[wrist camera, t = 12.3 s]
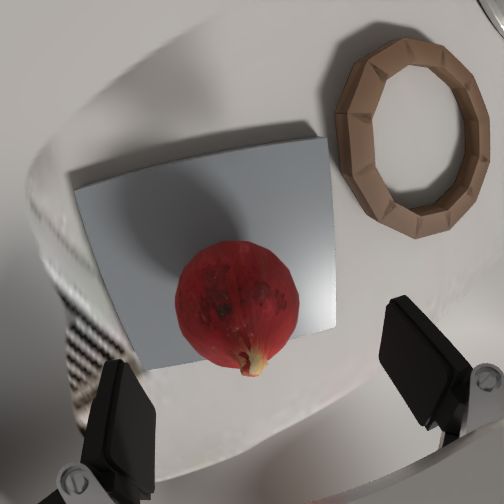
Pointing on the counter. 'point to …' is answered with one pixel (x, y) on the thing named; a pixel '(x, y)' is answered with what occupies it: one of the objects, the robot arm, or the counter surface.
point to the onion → (237, 305)
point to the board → (211, 233)
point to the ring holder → (362, 142)
